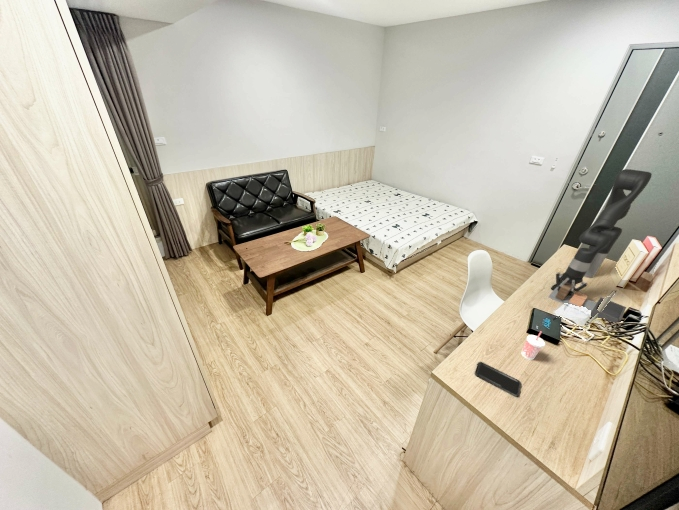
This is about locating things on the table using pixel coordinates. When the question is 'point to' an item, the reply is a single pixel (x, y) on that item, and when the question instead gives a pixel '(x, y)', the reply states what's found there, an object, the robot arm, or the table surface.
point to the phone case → (580, 328)
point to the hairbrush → (557, 284)
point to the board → (587, 303)
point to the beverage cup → (532, 346)
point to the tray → (609, 311)
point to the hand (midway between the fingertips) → (563, 293)
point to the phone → (498, 379)
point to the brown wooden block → (563, 291)
